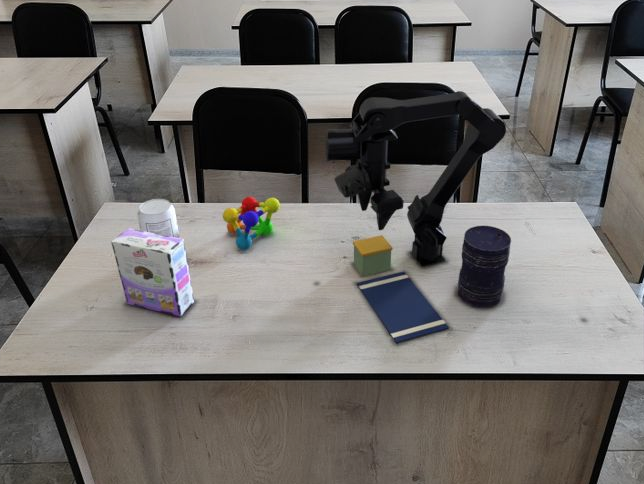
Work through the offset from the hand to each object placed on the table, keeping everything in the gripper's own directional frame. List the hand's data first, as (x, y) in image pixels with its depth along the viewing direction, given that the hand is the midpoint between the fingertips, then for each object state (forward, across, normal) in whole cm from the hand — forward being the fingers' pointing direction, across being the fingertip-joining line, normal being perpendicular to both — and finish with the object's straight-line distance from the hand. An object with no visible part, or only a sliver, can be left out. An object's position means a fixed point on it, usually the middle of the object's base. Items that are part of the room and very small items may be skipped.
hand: (372, 219), depth 138 cm
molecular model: (+12, -20, -24) cm, 34 cm away
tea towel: (+12, +17, -1) cm, 21 cm away
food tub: (+12, +2, -1) cm, 12 cm away
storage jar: (+12, +21, +17) cm, 29 cm away
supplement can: (+12, -20, -45) cm, 51 cm away
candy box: (+12, -4, -48) cm, 50 cm away
